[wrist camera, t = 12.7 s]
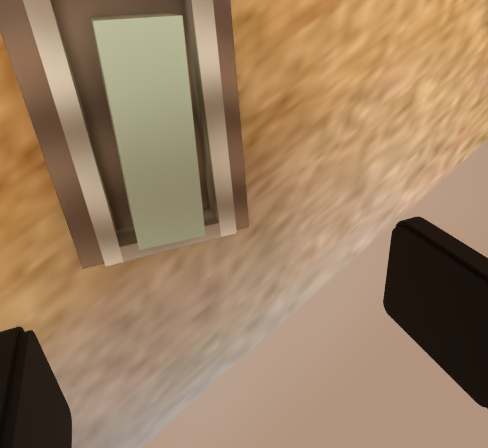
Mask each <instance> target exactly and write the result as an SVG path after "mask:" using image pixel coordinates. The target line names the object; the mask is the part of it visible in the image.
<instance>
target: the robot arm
mask: <svg viewBox="0 0 488 448" xmlns="http://www.w3.org/2000/svg"><path fill="white" fill-rule="evenodd" d="M383 304H384V308H385V310H386V312H387V313H388V315H389V316H391V318H392V319H393V320H394V321H395V322H396V323H397V324H398V325H399V326H400V327H402V329H403V330H404V331H405V332H407V334H408V335H409V336H410V337H411V338H412V339H413V340H415V342H416V343H417V344H418V345H419V346H420V347H422V349H423V350H425V352H427V354H428V355H429V356H430V357H431V358H432V359H434V361H436V363H438V365H440V367H441V368H443V370H444V371H445V372H446V373H447V374H448V375H450V377H452V379H453V380H455V382H456V383H458V385H459V386H461V387H462V389H463V390H464V391H465V392H466V393H468V395H470V397H472V398H473V399H474V400H475V402H477V403H478V404H479V405H481V406H482V407H487V408H488V258H487V257H485V256H483V255H482V254H480V253H478V252H477V251H475V250H474V249H472V248H470V247H469V246H467V245H466V244H464V243H462V242H461V241H459V240H457V239H456V238H454V237H453V236H451V235H449V234H448V233H446V232H445V231H443V230H441V229H440V228H438V227H436V226H435V225H433V224H432V223H430V222H428V221H427V220H425V219H423V218H421V217H413V218H410V219H406V220H403V221H400V222H398V223H397V225H396V227H395V229H393V231H392V236H391V245H390V252H389V260H388V268H387V276H386V284H385V293H384V300H383ZM71 447H72V419H71V413H70V409H69V406H68V404H67V402H66V400H65V398H64V395H63V393H62V391H61V389H60V387H59V385H58V383H57V380H56V378H55V376H54V374H53V372H52V370H51V367H50V365H49V363H48V361H47V359H46V357H45V354H44V352H43V350H42V348H41V346H40V344H39V341H38V339H37V337H36V335H35V333H34V332H33V331H32V330H30V331H27V332H25V331H24V330H23V328H22V327H16V328H13V329H9V330H5V331H2V332H0V448H71Z"/></svg>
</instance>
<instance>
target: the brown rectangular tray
mask: <svg viewBox="0 0 488 448" xmlns="http://www.w3.org/2000/svg"><path fill="white" fill-rule="evenodd" d="M145 13H168V14H175V15H182V17H183V26H184V36H185V45H186V55H187V64H188V74H189V83H190V93H191V102H192V112H193V122H194V131H195V141H196V150H197V160H198V169H199V179H200V188H201V198H202V207H203V217H204V226H205V236H202V237H197V238H193V239H188V240H183V241H179V242H174V243H170V244H165V245H160V246H156V247H151V248H147V249H142V250H139V246H138V242H137V238H136V234H135V230H134V226H133V222H132V218H131V214H130V210H129V205H128V200H127V195H126V191H125V186H124V181H123V176H122V171H121V166H120V162H119V157H118V152H117V147H116V142H115V137H114V133H113V128H112V123H111V118H110V113H109V108H108V103H107V99H106V94H105V89H104V84H103V79H102V74H101V70H100V65H99V60H98V55H97V50H96V45H95V41H94V36H93V31H92V26H91V21H90V17H94V16H111V15H128V14H145ZM0 32H1V34H2V37H3V40H4V43H5V46H6V49H7V52H8V55H9V57H10V60H11V63H12V66H13V69H14V72H15V75H16V78H17V80H18V83H19V86H20V89H21V92H22V95H23V98H24V101H25V103H26V106H27V109H28V112H29V115H30V118H31V121H32V124H33V126H34V129H35V132H36V135H37V138H38V141H39V144H40V147H41V149H42V152H43V155H44V158H45V161H46V164H47V167H48V170H49V172H50V175H51V178H52V181H53V184H54V187H55V190H56V193H57V195H58V198H59V201H60V204H61V207H62V210H63V213H64V216H65V219H66V221H67V224H68V227H69V230H70V233H71V236H72V239H73V242H74V244H75V247H76V250H77V253H78V256H79V259H80V262H81V265H82V267H83V269H85V268H88V267H92V266H96V265H100V264H104V263H105V266H110V265H114V264H118V263H122V262H126V261H130V260H134V259H137V258H141V257H145V256H149V255H153V254H157V253H161V252H165V251H169V250H173V249H177V248H181V247H184V246H188V245H192V244H196V243H200V242H204V241H208V240H212V239H216V238H220V237H224V236H228V235H232V234H235V233H237V231H236V230H239V229H243V228H247V227H249V220H248V208H247V196H246V184H245V172H244V160H243V148H242V136H241V124H240V112H239V100H238V88H237V76H236V64H235V52H234V40H233V28H232V16H231V4H230V0H0Z"/></svg>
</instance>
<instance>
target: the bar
mask: <svg viewBox="0 0 488 448" xmlns="http://www.w3.org/2000/svg"><path fill="white" fill-rule="evenodd" d="M90 21H91V26H92V31H93V36H94V41H95V45H96V50H97V55H98V60H99V65H100V70H101V74H102V79H103V84H104V89H105V94H106V99H107V103H108V108H109V113H110V118H111V123H112V128H113V133H114V137H115V142H116V147H117V152H118V157H119V162H120V166H121V171H122V176H123V181H124V186H125V191H126V195H127V200H128V205H129V210H130V214H131V218H132V222H133V226H134V230H135V234H136V238H137V242H138V246H139V250H142V249H147V248H151V247H156V246H160V245H165V244H170V243H174V242H179V241H183V240H188V239H193V238H197V237H202V236H205V226H204V217H203V207H202V198H201V188H200V179H199V169H198V160H197V150H196V141H195V131H194V122H193V112H192V102H191V93H190V83H189V74H188V64H187V55H186V45H185V36H184V26H183V17H182V15H175V14H168V13H145V14H128V15H111V16H94V17H90Z"/></svg>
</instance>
